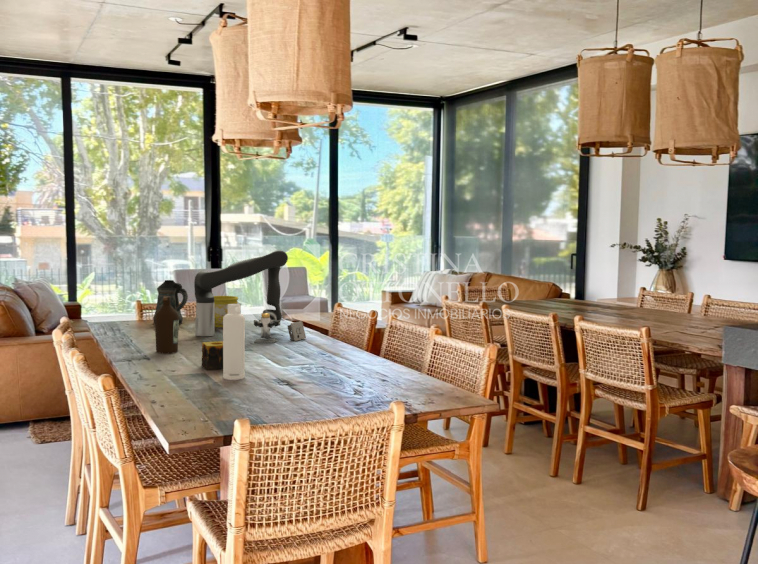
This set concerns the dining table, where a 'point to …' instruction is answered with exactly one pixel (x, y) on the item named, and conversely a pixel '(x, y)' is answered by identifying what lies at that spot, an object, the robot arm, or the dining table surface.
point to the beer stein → (171, 296)
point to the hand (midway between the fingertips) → (265, 325)
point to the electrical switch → (296, 331)
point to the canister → (265, 325)
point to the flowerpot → (222, 308)
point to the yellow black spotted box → (212, 355)
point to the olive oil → (166, 328)
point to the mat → (265, 341)
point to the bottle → (233, 343)
